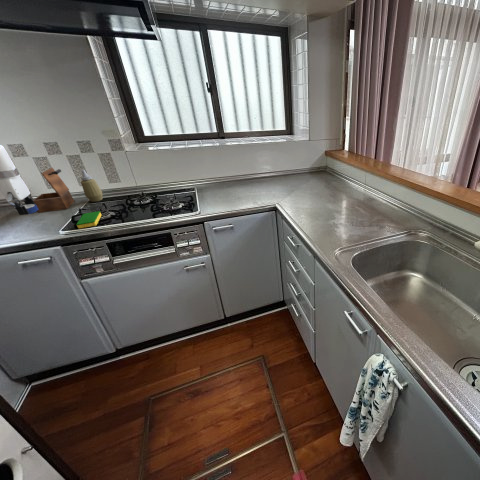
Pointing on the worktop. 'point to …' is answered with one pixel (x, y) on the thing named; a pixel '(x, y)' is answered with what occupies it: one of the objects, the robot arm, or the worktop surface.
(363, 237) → the worktop surface
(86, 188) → the squeeze bottle
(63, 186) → the box lid
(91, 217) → the dish sponge
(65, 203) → the storage box
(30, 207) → the rice dish
